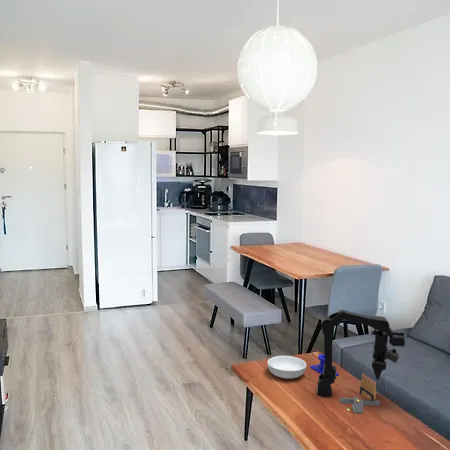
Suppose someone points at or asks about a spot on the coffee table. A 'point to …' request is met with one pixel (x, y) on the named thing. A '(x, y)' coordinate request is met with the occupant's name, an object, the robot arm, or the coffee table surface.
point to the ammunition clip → (368, 388)
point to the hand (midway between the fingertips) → (377, 375)
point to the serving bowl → (286, 366)
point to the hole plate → (365, 402)
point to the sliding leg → (357, 405)
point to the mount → (320, 365)
